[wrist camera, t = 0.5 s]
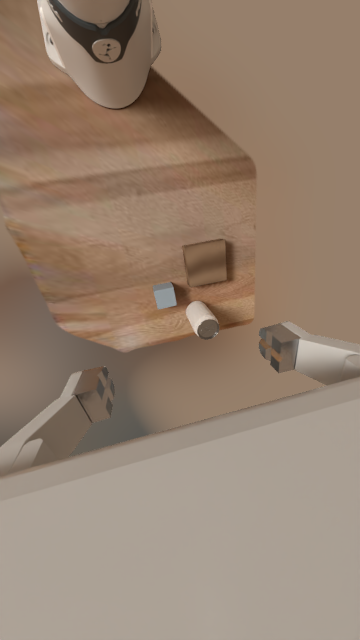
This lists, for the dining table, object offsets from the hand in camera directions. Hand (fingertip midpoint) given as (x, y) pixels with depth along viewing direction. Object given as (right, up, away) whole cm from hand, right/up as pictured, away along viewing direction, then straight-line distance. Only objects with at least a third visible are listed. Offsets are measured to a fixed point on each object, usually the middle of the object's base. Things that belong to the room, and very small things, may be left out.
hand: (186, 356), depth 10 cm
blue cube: (-5, +10, +43) cm, 44 cm away
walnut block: (+6, +18, +41) cm, 45 cm away
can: (+4, +5, +47) cm, 48 cm away
